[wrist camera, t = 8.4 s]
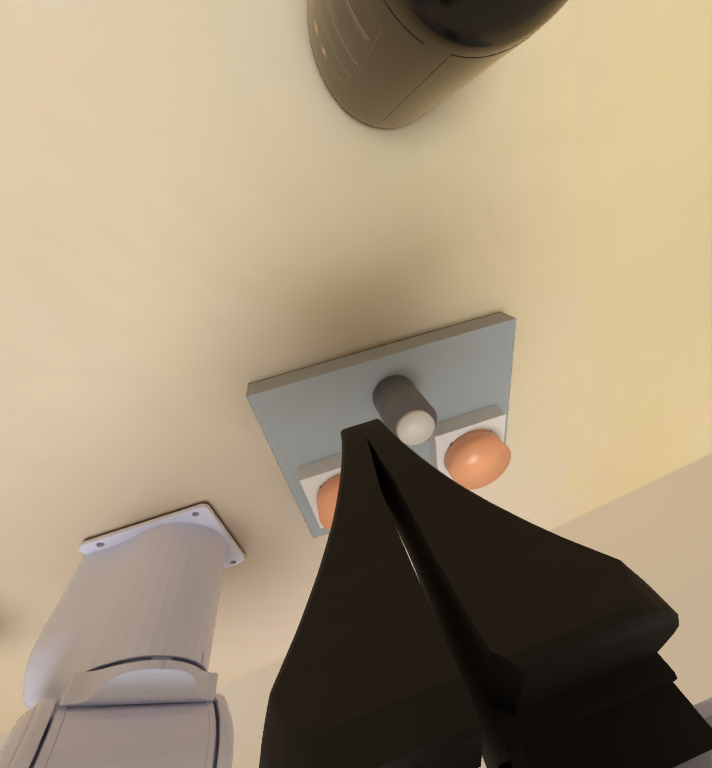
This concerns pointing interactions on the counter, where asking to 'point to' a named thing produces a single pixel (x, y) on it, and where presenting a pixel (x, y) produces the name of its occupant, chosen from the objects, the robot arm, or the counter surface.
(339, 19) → the supplement bottle
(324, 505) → the knob
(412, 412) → the white domed button
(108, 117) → the counter surface
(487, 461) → the knob
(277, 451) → the mount board
